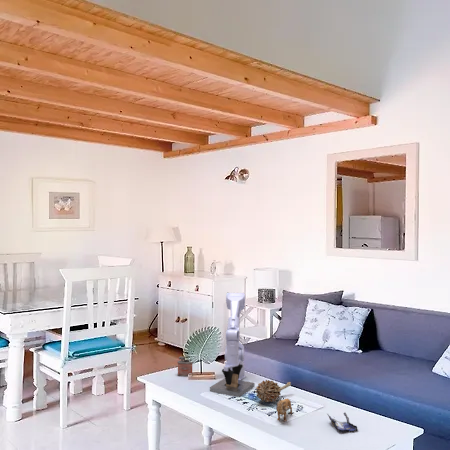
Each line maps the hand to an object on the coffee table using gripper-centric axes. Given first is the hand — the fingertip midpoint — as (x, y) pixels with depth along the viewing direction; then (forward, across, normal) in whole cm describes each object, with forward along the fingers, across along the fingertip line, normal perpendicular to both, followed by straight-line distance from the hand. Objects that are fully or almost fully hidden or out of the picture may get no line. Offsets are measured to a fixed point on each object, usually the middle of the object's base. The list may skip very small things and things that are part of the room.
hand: (232, 382), depth 236 cm
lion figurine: (+4, +20, +35) cm, 40 cm away
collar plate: (+3, 0, 0) cm, 3 cm away
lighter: (+4, -6, -31) cm, 32 cm away
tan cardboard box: (+3, 0, 0) cm, 4 cm away
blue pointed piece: (+4, +18, +58) cm, 61 cm away
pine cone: (+4, +3, +23) cm, 23 cm away
